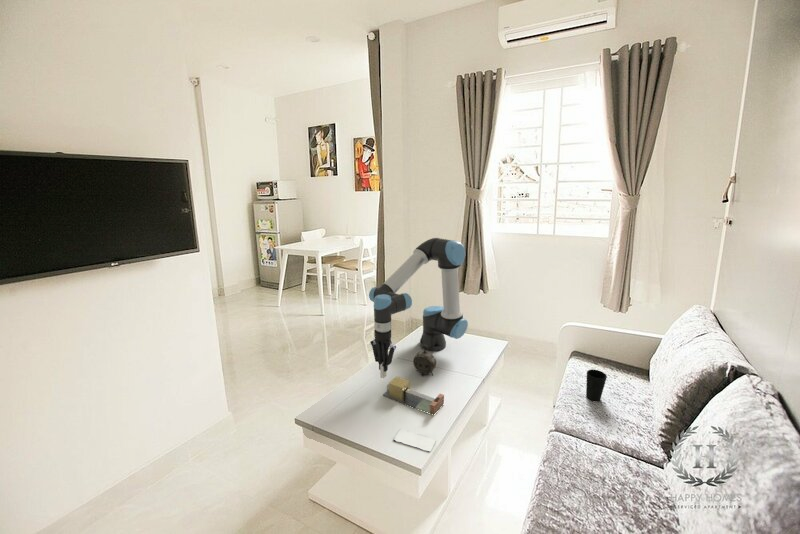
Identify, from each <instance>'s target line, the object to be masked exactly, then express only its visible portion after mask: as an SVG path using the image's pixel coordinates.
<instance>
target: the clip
mask: <svg viewBox="0 0 800 534" xmlns="http://www.w3.org/2000/svg"><path fill="white" fill-rule="evenodd" d="M388 383H389V395H390V396H393V397H396V398H398V399H401V400H403V399H404V390H405V389H406V388H407V389H410V388H411V386H410V383H411V382H410V380H408V379H404V378H401V377H399V376H395V377H394V378H393V379H391V381H389V382H388ZM410 390H411V389H410Z"/></svg>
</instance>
